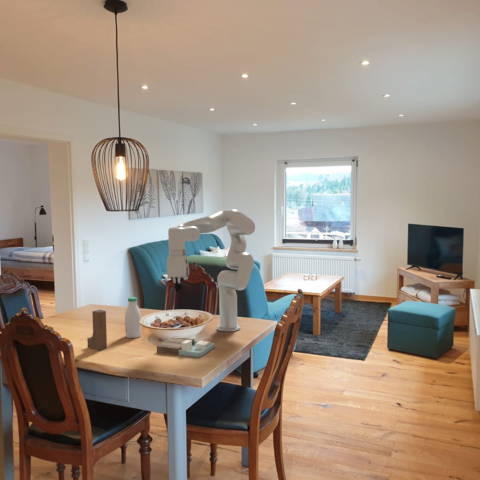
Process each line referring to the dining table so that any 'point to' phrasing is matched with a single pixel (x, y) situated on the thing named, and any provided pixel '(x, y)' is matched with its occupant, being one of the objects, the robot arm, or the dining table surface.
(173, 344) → the walnut board
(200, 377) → the dining table surface
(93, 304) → the dining table surface
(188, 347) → the tile
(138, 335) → the milk bottle
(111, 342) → the dining table surface
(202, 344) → the tile
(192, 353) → the tray
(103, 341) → the wooden block
